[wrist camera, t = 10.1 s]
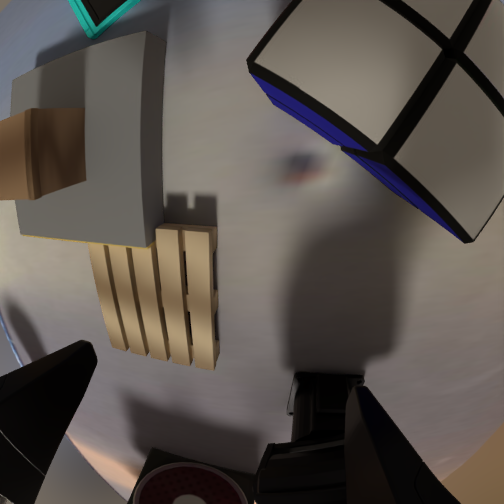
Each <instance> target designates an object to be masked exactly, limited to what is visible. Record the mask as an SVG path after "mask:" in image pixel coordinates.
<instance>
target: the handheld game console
mask: <svg viewBox="0 0 504 504" xmlns="http://www.w3.org/2000/svg"><path fill="white" fill-rule="evenodd" d="M68 1H69V3H70V5H71V7H72V9H73V10H74V12H75V14H76V16H77V18H78V20H79V22H80V24H81V25H82V27H83V29H84V31H85V32H86V35H87V37H88V38H91V39H96V38H97V37H99V36H100V35H101V34H102V33H103V32H104V31H105V30H106V29H107V28H108V27H109V26H111V25H112V24H113V23H114V22H115V21H116V20H117V19H119V18H120V17H121V16H122V15H123V14H124V13H126V12H127V11H128V10H129V9H131V8H132V7H133V6H134V5H136V4H137V3H138V2H140V1H141V0H68Z"/></svg>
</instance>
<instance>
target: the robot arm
mask: <svg viewBox="0 0 504 504" xmlns="http://www.w3.org/2000/svg"><path fill="white" fill-rule="evenodd" d="M96 365H97V356H96V353H95V351H94V348H93V345H92V343H91V342H88V341H85V340H79V341H77V342H75V343H73V344H71V345H69V346H67V347H64V348H62V349H60V350H58V351H56V352H54V353H51V354H49V355H47V356H45V357H43V358H41V359H38V360H36V361H34V362H32V363H30V364H27V365H25V366H23V367H21V368H19V369H17V370H14V371H12V372H10V373H8V374H6V375H3V376H1V377H0V504H6V502H7V500H9V501H10V502H12V503H13V504H34V503H35V500H36V498H37V495H38V493H39V491H40V488H41V486H42V483H43V481H44V478H45V475H46V474H47V471H48V469H49V466H50V464H51V462H52V460H53V458H54V455H55V453H56V451H57V449H58V447H59V445H60V443H61V441H62V438H63V436H64V434H65V432H66V430H67V428H68V426H69V424H70V422H71V420H72V418H73V416H74V414H75V412H76V410H77V408H78V406H79V405H80V403H81V401H82V399H83V397H84V394H85V392H86V390H87V387H88V385H89V382H90V380H91V377H92V375H93V373H94V370H95V368H96ZM298 377H301V378H298ZM358 380H360V381H358ZM364 382H365V380H364V376H362V375H336V374H318V373H304V372H298V373H296V374H295V375H294V379H293V384H292V389H291V394H290V398H289V403H288V408H287V415H288V416H293V424H292V437H291V442H288V443H279V444H275V443H270V444H268V445H267V448H266V450H265V452H264V455H263V457H262V460H261V462H260V465H259V467H258V470H257V472H256V474H255V477H254V479H253V482H252V485H253V487H252V490H253V494H254V499H255V502H256V504H461V503H460V502H459V501H458V500H457V499H456V498H455V497H454V496H453V495H452V494H451V493H450V492H449V491H448V490H447V489H446V488H445V487H444V486H443V485H442V484H441V482H440V481H439V480H438V479H437V478H436V477H435V475H434V474H433V473H432V472H431V470H430V469H429V468H428V466H427V465H426V464H425V462H422V461H423V460H422V459H421V457H420V456H419V455H418V453H417V452H416V451H415V449H414V448H413V447H412V445H411V444H410V443H409V441H408V440H407V439H406V437H405V436H404V435H403V433H402V432H401V431H400V429H399V428H398V427H397V425H396V424H395V423H394V421H393V420H392V419H391V418H390V416H389V415H388V414H387V412H386V411H385V410H384V408H383V407H382V406H381V404H380V403H379V402H378V400H377V399H376V398H375V397H374V395H373V394H372V393H371V391H370V390H369V389H368V387H366V386H363V384H364Z"/></svg>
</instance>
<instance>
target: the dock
mask: <svg viewBox="0 0 504 504" xmlns="http://www.w3.org/2000/svg"><path fill="white" fill-rule="evenodd" d="M165 52H166V42H165V41H163V40H162V39H160V38H158V37H157V36H155V35H153V34H151V33H150V32H148V31H142V32H138V33H134V34H130V35H126V36H122V37H118V38H115V39H111V40H108V41H105V42H102V43H98V44H95V45H92V46H89V47H86V48H84V49H81V50H78V51H75V52H73V53H70V54H68V55H65V56H63V57H60V58H58V59H55V60H53V61H51V62H48V63H46V64H44V65H42V66H40V67H37V68H35V69H33V70H31V71H29V72H27V73H25V74H23V75H21V76H19V77H18V78H16V79H14V80H13V82H12V93H11V112H10V117H11V116H14V115H16V114H19V113H22V112H24V111H25V110H27V109H30V108H38V109H46V108H85V162H86V179H87V181H84V182H81V183H78V184H75V185H72V186H69V187H66V188H63V189H61V190H58V191H55V192H52V193H49V194H47V195H44V196H42V198H39V199H36V200H29V199H25V200H15V204H16V210H17V217H18V223H19V228H20V233H21V235H23V236H29V237H38V238H46V239H55V240H64V241H73V242H82V243H91V244H100V245H109V246H119V247H128V248H137V249H147V250H148V249H149V248H150V247H151V246H153V245H154V241H155V240H156V228H157V227H158V226H160V225H162V224H163V223H164V212H163V188H162V104H163V81H164V65H165Z"/></svg>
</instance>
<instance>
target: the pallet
mask: <svg viewBox="0 0 504 504" xmlns="http://www.w3.org/2000/svg"><path fill="white" fill-rule="evenodd" d="M88 248H89V253H90V259H91V264H92V269H93V274H94V279H95V284H96V288H97V292H98V297H99V301H100V305H101V309H102V313H103V316H104V320H105V324H106V327H107V331H108V334H109V338H110V341H111V344H112V347H113V348H116V349H120V350H124V351H127V350H128V348H129V347H130V351H131V353H135V354H139V355H143V356H147V354H148V353H149V351H150V355H151V358H155V359H159V360H163V361H168V360H169V358H170V356H172V361H173V363H177V364H182V365H187V366H190V365H191V363H192V361H193V358H195V365H196V367H197V368H202V369H208V370H214V369H215V367H216V361H217V359H218V356H219V353H220V352H219V340H215V325H214V314H215V312H216V310H217V308H218V290H213V252H214V251H215V249H216V248H217V227H214V226H201V225H187V224H173V223H163V224H162V225H160V226H158V227H157V228H156V240H155V241H154V245H153V246H151V247H150V248H149V249H148V250H147V249H137V248H128V247H119V246H109V245H100V244H91V243H88ZM156 248H157V252H158V262H157V252H156ZM183 251H186V265H187V281H188V286H186V285H185V271H184V256H183ZM158 263H159V272H160V281H161V282H160V281H159V272H158ZM163 307H164V311H163ZM188 311H190V318H191V328H192V336H190V330H189V320H188ZM164 312H165V318H164ZM165 319H166V325H165ZM166 326H167V331H166ZM170 354H171V355H170Z"/></svg>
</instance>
